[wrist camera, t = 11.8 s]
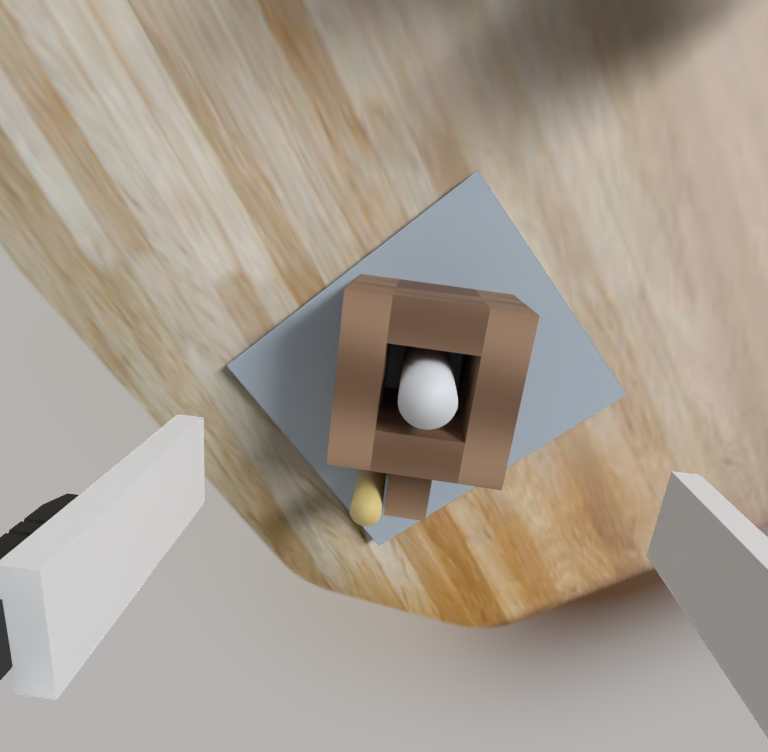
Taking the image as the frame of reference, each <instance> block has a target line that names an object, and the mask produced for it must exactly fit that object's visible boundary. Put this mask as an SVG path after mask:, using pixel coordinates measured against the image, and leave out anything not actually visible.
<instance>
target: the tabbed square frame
mask: <svg viewBox="0 0 768 752" xmlns="http://www.w3.org/2000/svg"><path fill="white" fill-rule="evenodd" d="M539 317H540V316H539V315H538V314H537V313H536V312H534V311H533V310H532V309H531V308H529V307H528V306H527V305H526V304H525V303H523V302H522V301H521V300H520V299H518V298H517V297H516V296H515V295H514V294H506V293H499V292H491V291H484V290H477V289H469V288H462V287H454V286H447V285H440V284H432V283H425V282H418V281H410V280H403V279H395V278H388V277H381V276H373V275H366V274H361V275H360V276H358V277H357V278H356V279H355V280H354V281H353V282H352V283H351V284H350V285H348V286H347V287H346V288H345V289H344V298H343V308H342V317H341V327H340V337H339V347H338V356H337V366H336V376H335V386H334V395H333V405H332V415H331V425H330V435H329V444H328V454H327V465H334V466H340V467H347V468H354V469H361V470H368V471H374V472H381V473H388V474H389V480H388V487H387V495H386V503H385V511H384V515H387V516H393V517H400V518H407V519H413V520H420V521H425V519H426V513H427V507H428V501H429V495H430V490H431V484H432V480H436V481H442V482H449V483H456V484H463V485H470V486H476V487H483V488H490V489H497V490H502V486H503V482H504V477H505V473H506V468H507V463H508V459H509V454H510V450H511V445H512V441H513V436H514V431H515V427H516V422H517V418H518V413H519V408H520V404H521V399H522V395H523V390H524V385H525V381H526V376H527V372H528V367H529V363H530V358H531V353H532V349H533V344H534V340H535V335H536V330H537V326H538V321H539ZM390 344H397V345H404V346H411V347H418V348H425V349H432V350H440V351H447V352H454V353H461V354H464V356H463V361H462V367H461V373H460V378H459V384H458V390H457V396H458V407H457V411H456V413H455V415H454V416H453V418H452V419H451V420H450V421H449V422H448V423H447V424H445V425H444V426H442V427H440V428H437V429H431V430H425V429H419V428H416V427H414V426H412V425H411V424H409V423H408V422H407V421H406V420H405V419H404V418H403V417H402V415H401V413H400V411H399V408H398V394H399V389H396V388H389V387H385V382H386V374H387V367H388V359H389V352H390Z"/></svg>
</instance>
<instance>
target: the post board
mask: <svg viewBox="0 0 768 752" xmlns="http://www.w3.org/2000/svg"><path fill="white" fill-rule="evenodd" d="M361 274H366V275H373V276H381V277H388V278H395V279H403V280H410V281H418V282H425V283H432V284H440V285H447V286H454V287H462V288H469V289H477V290H484V291H491V292H499V293H506V294H514V295H515V296H516V297H517V298H518V299H520V300H521V301H522V302H523V303H525V304H526V305H527V306H528V307H529V308H531V309H532V310H533V311H534V312H536V313H537V314H538V315H539V316H540V317H539V321H538V326H537V330H536V335H535V340H534V344H533V349H532V353H531V358H530V363H529V367H528V372H527V376H526V381H525V385H524V390H523V395H522V399H521V404H520V408H519V413H518V418H517V422H516V427H515V431H514V436H513V441H512V445H511V450H510V454H509V459H508V463H507V467H509V466H510V465H512V464H514V463H515V462H517V461H518V460H520V459H522V458H523V457H525V456H527V455H528V454H530V453H532V452H533V451H535V450H536V449H538V448H540V447H541V446H543V445H545V444H546V443H548V442H550V441H551V440H553V439H554V438H556V437H558V436H559V435H561V434H563V433H564V432H566V431H568V430H569V429H571V428H572V427H574V426H576V425H577V424H579V423H581V422H582V421H584V420H586V419H587V418H589V417H590V416H592V415H594V414H595V413H597V412H599V411H600V410H602V409H604V408H605V407H607V406H608V405H610V404H612V403H613V402H615V401H617V400H618V399H620V398H622V397H623V396H625V395H626V392H625V391H624V389H623V388H622V386H621V385H620V383H619V382H618V380H617V379H616V377H615V376H614V374H613V373H612V371H611V370H610V368H609V367H608V365H607V364H606V362H605V361H604V359H603V358H602V356H601V355H600V353H599V352H598V350H597V349H596V347H595V346H594V344H593V343H592V341H591V340H590V338H589V337H588V335H587V334H586V332H585V331H584V329H583V328H582V326H581V325H580V323H579V322H578V320H577V319H576V317H575V316H574V314H573V313H572V311H571V310H570V308H569V307H568V305H567V304H566V302H565V301H564V299H563V298H562V296H561V295H560V293H559V292H558V290H557V289H556V287H555V285H554V284H553V282H552V281H551V279H550V278H549V276H548V275H547V273H546V272H545V270H544V269H543V267H542V266H541V264H540V263H539V261H538V260H537V258H536V257H535V255H534V254H533V252H532V251H531V249H530V248H529V246H528V245H527V243H526V242H525V240H524V239H523V237H522V236H521V234H520V233H519V231H518V230H517V228H516V227H515V225H514V224H513V222H512V221H511V219H510V218H509V216H508V215H507V213H506V212H505V210H504V209H503V207H502V206H501V204H500V203H499V201H498V200H497V198H496V197H495V195H494V194H493V192H492V191H491V189H490V188H489V186H488V185H487V183H486V182H485V180H484V179H483V177H482V176H481V174H480V173H479V171H476V172H475V173H474V174H472V175H471V176H470V177H469V178H467V179H466V180H465V181H463V182H462V183H461V184H460V185H458V186H457V187H456V188H454V189H453V190H452V191H451V192H449V193H448V194H447V195H445V196H444V197H443V198H442V199H440V200H439V201H438V202H436V203H435V204H434V205H433V206H431V207H430V208H429V209H427V210H426V211H425V212H424V213H422V214H421V215H420V216H418V217H417V218H416V219H415V220H413V221H412V222H411V223H409V224H408V225H407V226H405V227H404V228H403V229H402V230H400V231H399V232H398V233H396V234H395V235H394V236H393V237H391V238H390V239H389V240H387V241H386V242H385V243H384V244H382V245H381V246H380V247H378V248H377V249H376V250H375V251H373V252H372V253H371V254H369V255H368V256H367V257H366V258H364V259H363V260H362V261H360V262H359V263H358V264H357V265H355V266H354V267H353V268H351V269H350V270H349V271H348V272H346V273H345V274H344V275H342V276H341V277H340V278H339V279H337V280H336V281H335V282H333V283H332V284H331V285H330V286H328V287H327V288H326V289H324V290H323V291H322V292H321V293H319V294H318V295H317V296H315V297H314V298H313V299H312V300H310V301H309V302H308V303H306V304H305V305H304V306H302V307H301V308H300V309H299V310H297V311H296V312H295V313H293V314H292V315H291V316H290V317H288V318H287V319H286V320H284V321H283V322H282V323H281V324H279V325H278V326H277V327H275V328H274V329H273V330H272V331H270V332H269V333H268V334H266V335H265V336H264V337H263V338H261V339H260V340H259V341H257V342H256V343H255V344H254V345H252V346H251V347H250V348H248V349H247V350H246V351H245V352H243V353H242V354H241V355H239V356H238V357H237V358H236V359H234V360H233V361H232V362H230V363H229V364H228V365H227V367H228V368H229V369H230V370H231V371H232V373H233V374H234V375H235V376H236V377H237V378H238V380H239V381H240V382H241V383H242V384H243V386H244V387H245V388H246V389H247V390H248V391H249V393H250V394H251V395H252V396H253V397H254V399H255V400H256V401H257V402H258V403H259V405H260V406H261V407H262V408H263V409H264V410H265V412H266V413H267V414H268V415H269V416H270V418H271V419H272V420H273V421H274V422H275V423H276V425H277V426H278V427H279V428H280V429H281V431H282V432H283V433H284V434H285V435H286V437H287V438H288V439H289V440H290V441H291V442H292V444H293V445H294V446H295V447H296V448H297V450H298V451H299V452H300V453H301V454H302V455H303V457H304V458H305V459H306V460H307V461H308V463H309V464H310V465H311V466H312V467H313V468H314V470H315V471H316V472H317V473H318V474H319V476H320V477H321V478H322V479H323V480H324V482H325V483H326V484H327V485H328V486H329V487H330V489H331V490H332V491H333V492H334V493H335V495H336V496H337V497H338V498H339V499H340V500H341V502H342V503H343V504H344V505H345V506H346V508H347V509H348V510H349V511H350V516H351V518H352V520H353V521H354V522H355V523H357V524H359V525H361V526H362V527H363V528H364V529H365V530H366V531H367V532H368V534H369V535H370V536H371V537H372V538H373V540H374V541H375V542H376V543H377V544H378V545H381V544H383V543H384V542H386V541H388V540H389V539H391V538H392V537H394V536H396V535H397V534H399V533H401V532H402V531H404V530H406V529H407V528H409V527H410V526H412V525H414V524H415V523H417V522H419V521H420V520H413V519H407V518H400V517H393V516H387V515H384V511H385V503H386V495H387V487H388V480H389V474H388V473H381V472H374V471H368V470H361V469H354V468H347V467H340V466H334V465H327V454H328V444H329V435H330V425H331V415H332V405H333V395H334V386H335V376H336V366H337V356H338V347H339V337H340V327H341V317H342V308H343V298H344V289H345V288H346V287H347V286H348V285H350V284H351V283H352V282H353V281H354V280H355V279H356V278H357V277H358V276H360V275H361ZM463 356H464V354H461V353H454V352H447V351H440V350H432V349H425V348H418V347H411V346H404V345H397V344H390V352H389V359H388V367H387V374H386V382H385V387H389V388H396V389H399V394H398V408H399V411H400V413H401V415H402V417H403V418H404V419H405V420H406V421H407V422H408V423H409V424H411V425H412V426H414V427H416V428H419V429H425V430H431V429H437V428H440V427H442V426H444V425H445V424H447V423H448V422H449V421H450V420H451V419H452V418H453V416H454V415H455V413H456V411H457V407H458V396H457V390H458V384H459V378H460V373H461V367H462V361H463ZM474 487H476V486H470V485H463V484H456V483H449V482H442V481H436V480H432V484H431V490H430V495H429V501H428V507H427V513H426V517H427V516H428V515H430V514H432V513H433V512H435V511H437V510H438V509H440V508H442V507H443V506H445V505H446V504H448V503H450V502H451V501H453V500H455V499H456V498H458V497H460V496H461V495H463V494H464V493H466V492H468V491H469V490H471V489H473V488H474Z"/></svg>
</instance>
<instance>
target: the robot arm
mask: <svg viewBox="0 0 768 752" xmlns="http://www.w3.org/2000/svg"><path fill="white" fill-rule="evenodd" d="M204 490H205V489H204V417H195V416H187V415H178V414H177V415H176V416H175V417H174V418H172V419H171V420H170V421H169V422H167V423H166V424H165V425H164V426H163V427H161V428H160V429H159V430H158V431H156V432H155V433H154V434H153V435H152V436H151V437H149V438H148V439H147V440H146V441H144V442H143V443H142V444H141V445H139V446H138V447H137V448H136V449H135V450H133V451H132V452H131V453H130V454H128V455H127V456H126V457H125V458H124V459H122V460H121V461H120V462H119V463H118V464H116V465H115V466H114V467H113V468H111V469H110V470H109V471H108V472H107V473H105V474H104V475H103V476H102V477H100V478H99V479H98V480H97V481H96V482H94V483H93V484H92V485H91V486H90V487H88V488H87V489H86V490H85V491H83V492H82V493H81V494H80V495H74V494H66V495H63V496H61V497H59V498H57V499H54V500H52V501H50V502H48V503H46V504H43V505H42V506H40V507H39V508H38V509H37V510H35V511H34V512H33V513H31V514H30V515H29V516H27V517H26V518H25V520H24V522H20V523H18V524H17V525H16V526H14V527H13V528H12V529H11V530H9V533H8V534H7V533H6V534H4V535H3V536H2V537H0V680H1V679H2V678H3V677H4V676H5V675H6V673H7V672H8V671H9V670H10V669H11V673H12V680H13V686H14V692H15V694H17V695H24V696H31V697H39V698H46V699H54V700H57V699H58V697H59V696H60V695H61V693H62V692H63V691H64V689H65V688H66V687H67V685H68V684H69V683H70V681H71V680H72V679H73V677H74V676H75V675H76V673H77V672H78V670H79V669H80V668H81V667H82V665H83V664H84V663H85V661H86V660H87V659H88V657H89V656H90V655H91V653H92V652H93V651H94V649H95V648H96V647H97V645H98V644H99V642H100V641H101V640H102V639H103V637H104V636H105V635H106V633H107V632H108V631H109V629H110V628H111V627H112V625H113V624H114V623H115V621H116V620H117V619H118V617H119V616H120V615H121V613H122V612H123V611H124V609H125V608H126V607H127V605H128V604H129V603H130V601H131V600H132V599H133V597H134V596H135V595H136V593H137V592H138V590H139V589H140V588H141V587H142V585H143V584H144V582H145V581H146V580H147V579H148V577H149V576H150V575H151V573H152V572H153V571H154V569H155V568H156V567H157V565H158V564H159V563H160V561H161V560H162V559H163V557H164V556H165V554H166V553H167V552H168V551H169V549H170V548H171V546H172V545H173V544H174V543H175V541H176V540H177V539H178V537H179V536H180V535H181V533H182V532H183V530H184V529H185V528H186V527H187V525H188V524H189V523H190V521H191V520H192V519H193V517H194V516H195V514H196V513H197V512H198V511H199V509H200V508H201V507H202V505H203V504H204V502H205V491H204ZM647 557H648V559H649V560H650V562H651V563H652V565H653V566H654V568H655V569H656V571H657V572H658V573H659V575H660V577H661V578H662V580H663V581H664V583H665V584H666V586H667V587H668V589H669V590H670V592H671V593H672V594H673V596H674V598H675V599H676V601H677V602H678V604H679V605H680V607H681V608H682V610H683V611H684V613H685V614H686V616H687V617H688V619H689V620H690V622H691V623H692V625H693V626H694V628H695V629H696V631H697V632H698V634H699V635H700V637H701V638H702V640H703V641H704V643H705V644H706V646H707V647H708V649H709V650H710V652H711V653H712V655H713V656H714V658H715V659H716V661H717V662H718V664H719V665H720V667H721V668H722V670H723V671H724V673H725V674H726V676H727V677H728V679H729V680H730V682H731V683H732V685H733V686H734V688H735V689H736V691H737V692H738V694H739V695H740V697H741V698H742V700H743V701H744V703H745V704H746V706H747V707H748V709H749V710H750V712H751V713H752V715H753V716H754V718H755V720H756V721H757V723H758V724H759V725H760V727H761V728H762V730H763V732H764V733H765V734H766V736H767V737H768V537H766V536H765V535H764V534H763V533H762V532H761V531H760V530H759V529H758V528H757V527H756V526H755V525H753V524H752V523H751V522H750V521H749V520H748V519H747V518H746V517H745V516H744V515H743V514H742V513H741V512H739V511H738V510H737V509H736V508H735V507H734V506H733V505H732V504H731V503H730V502H729V501H728V500H727V499H725V498H724V497H723V496H722V495H721V494H720V493H719V492H718V491H717V490H716V489H715V488H714V487H713V486H711V485H710V484H709V483H708V482H707V481H706V480H705V479H704V478H703V477H702V476H701V475H698V474H689V473H681V472H671V475H670V479H669V482H668V485H667V489H666V492H665V496H664V499H663V502H662V506H661V509H660V513H659V516H658V519H657V523H656V526H655V530H654V533H653V536H652V540H651V543H650V547H649V550H648V553H647Z"/></svg>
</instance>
